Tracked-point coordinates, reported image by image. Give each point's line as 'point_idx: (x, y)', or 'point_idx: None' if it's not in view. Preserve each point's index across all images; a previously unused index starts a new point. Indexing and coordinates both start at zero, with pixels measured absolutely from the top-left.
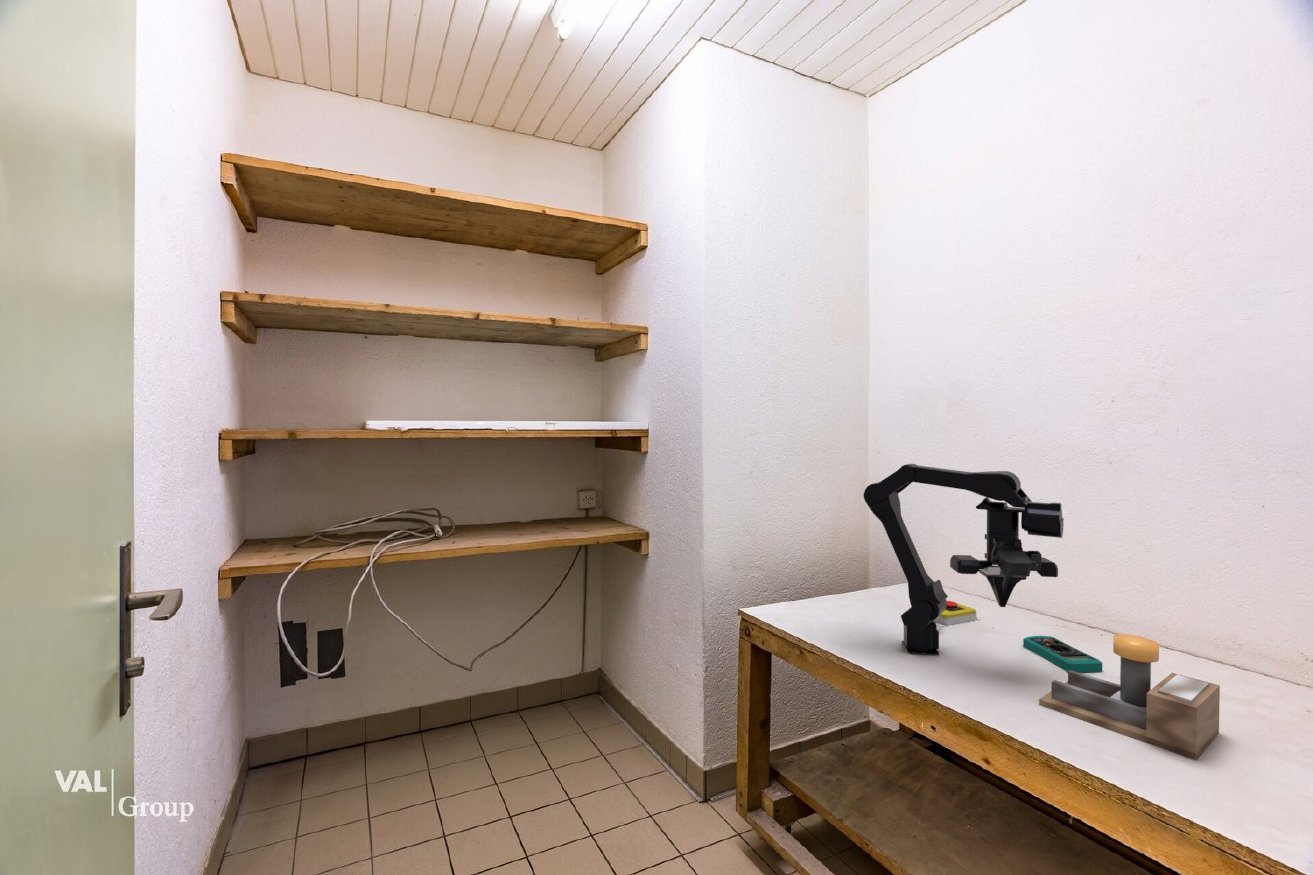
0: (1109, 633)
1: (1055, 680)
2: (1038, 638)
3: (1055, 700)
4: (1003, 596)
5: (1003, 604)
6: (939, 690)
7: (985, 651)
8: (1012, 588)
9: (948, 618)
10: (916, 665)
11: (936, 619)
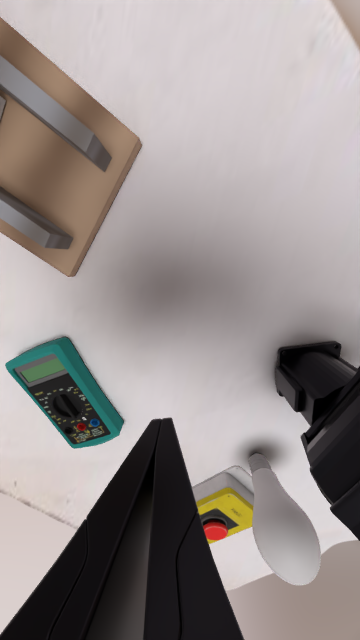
0: (5, 489)
1: (83, 148)
2: (95, 438)
3: (105, 142)
4: (149, 483)
5: (158, 428)
6: (343, 148)
7: (187, 388)
8: (47, 585)
9: (223, 487)
10: (341, 286)
11: (254, 472)
